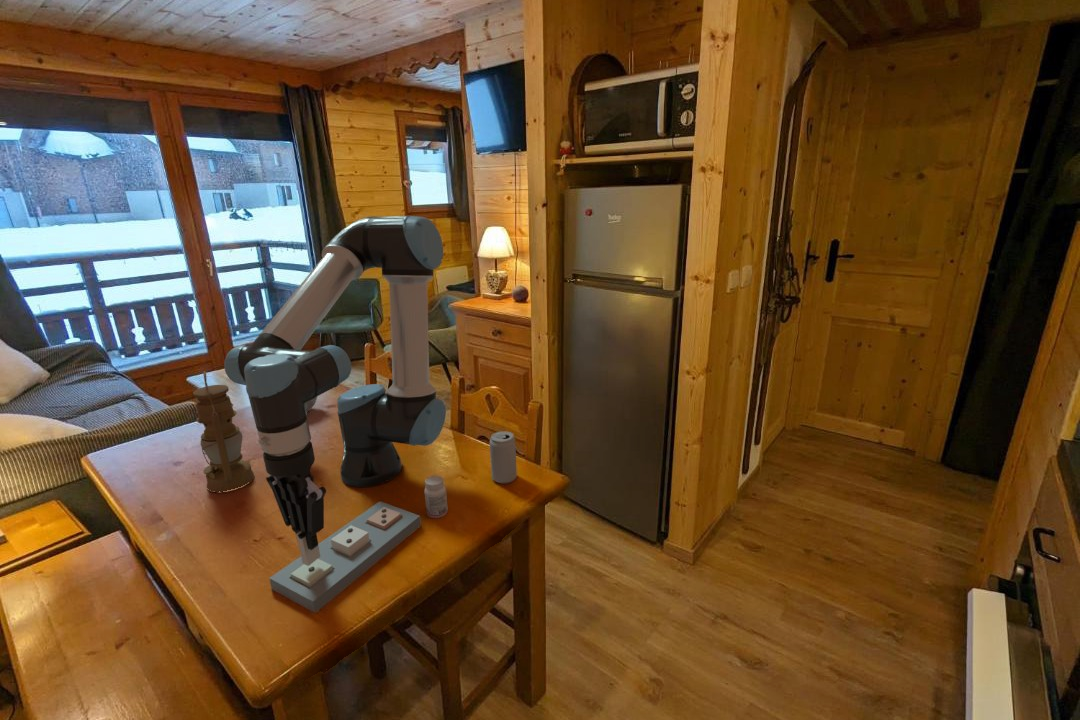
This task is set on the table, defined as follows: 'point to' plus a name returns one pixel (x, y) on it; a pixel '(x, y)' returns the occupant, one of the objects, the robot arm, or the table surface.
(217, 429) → the lantern
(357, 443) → the robot arm
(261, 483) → the table surface
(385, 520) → the key three
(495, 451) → the beverage can
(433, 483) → the pill bottle
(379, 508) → the key board
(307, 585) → the key one
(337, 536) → the key two
